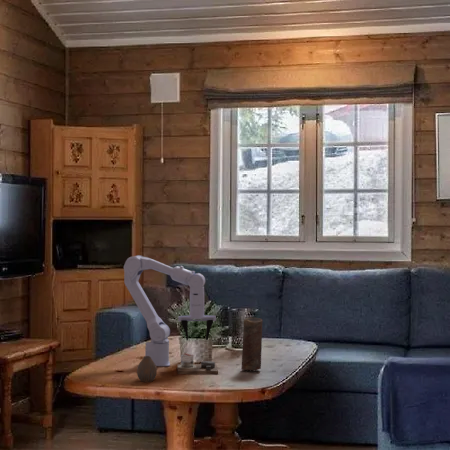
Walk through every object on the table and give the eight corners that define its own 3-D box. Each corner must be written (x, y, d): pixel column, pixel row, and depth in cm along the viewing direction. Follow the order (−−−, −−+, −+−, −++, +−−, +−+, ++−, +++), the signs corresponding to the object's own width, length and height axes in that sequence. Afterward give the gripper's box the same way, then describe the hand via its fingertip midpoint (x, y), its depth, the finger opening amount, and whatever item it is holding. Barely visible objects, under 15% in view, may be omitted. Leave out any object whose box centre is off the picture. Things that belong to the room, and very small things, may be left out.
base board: (177, 373, 335) (177, 365, 335) (177, 367, 349) (177, 358, 349) (218, 374, 336) (218, 365, 336) (216, 367, 350) (216, 359, 350)
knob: (178, 366, 343) (179, 353, 343) (189, 365, 345) (189, 352, 345) (184, 368, 339) (185, 355, 339) (195, 367, 341) (195, 354, 341)
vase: (137, 379, 323) (137, 354, 323) (156, 379, 324) (156, 354, 324) (136, 383, 316) (137, 358, 316) (156, 383, 317) (157, 358, 317)
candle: (263, 370, 346) (264, 317, 345) (258, 373, 339) (259, 320, 338) (244, 368, 348) (245, 316, 348) (238, 371, 341) (239, 318, 341)
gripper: (178, 305, 346) (178, 341, 346) (216, 305, 347) (216, 340, 347) (178, 304, 353) (178, 338, 354) (215, 303, 354) (215, 338, 354)
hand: (197, 339), depth 351 cm, fingers open, 7 cm apart
